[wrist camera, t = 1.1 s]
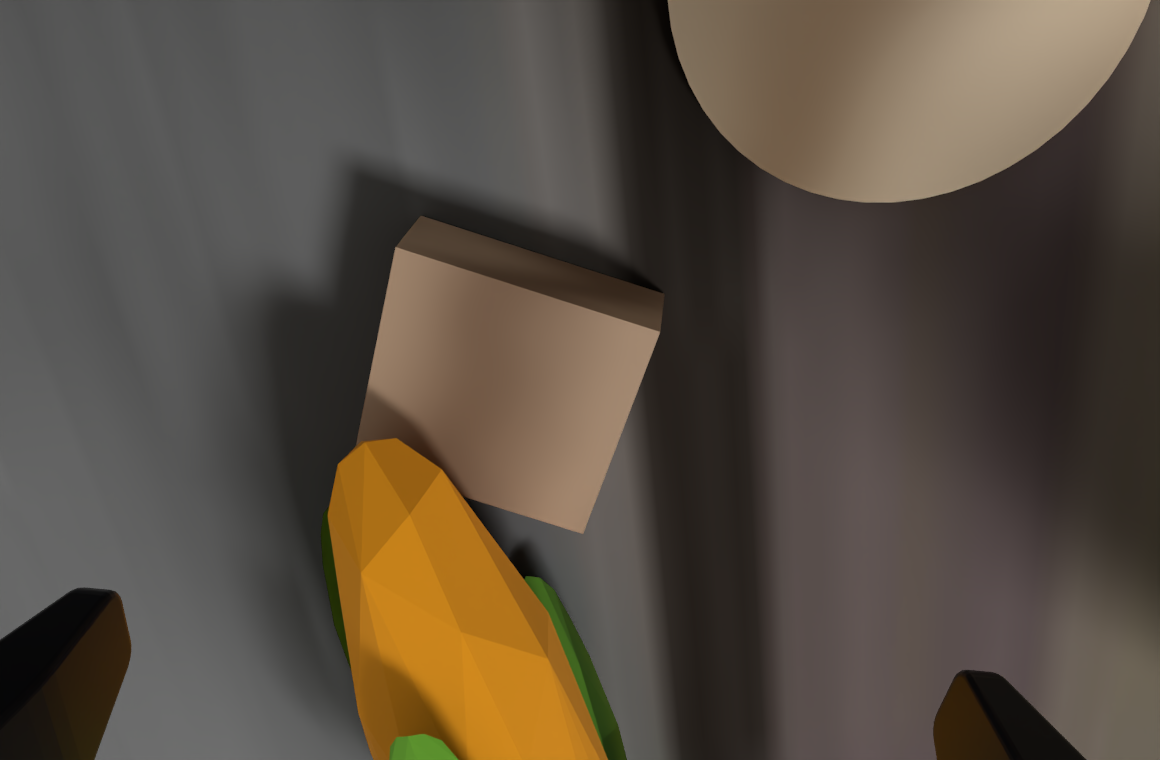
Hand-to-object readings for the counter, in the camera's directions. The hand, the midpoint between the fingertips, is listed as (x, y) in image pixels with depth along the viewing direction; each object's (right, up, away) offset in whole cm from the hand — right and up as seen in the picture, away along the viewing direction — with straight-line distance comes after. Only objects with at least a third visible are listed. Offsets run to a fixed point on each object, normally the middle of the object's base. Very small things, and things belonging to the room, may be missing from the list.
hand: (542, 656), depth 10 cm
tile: (-1, +3, +13) cm, 14 cm away
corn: (-2, -5, +19) cm, 20 cm away
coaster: (+7, +11, +8) cm, 15 cm away
